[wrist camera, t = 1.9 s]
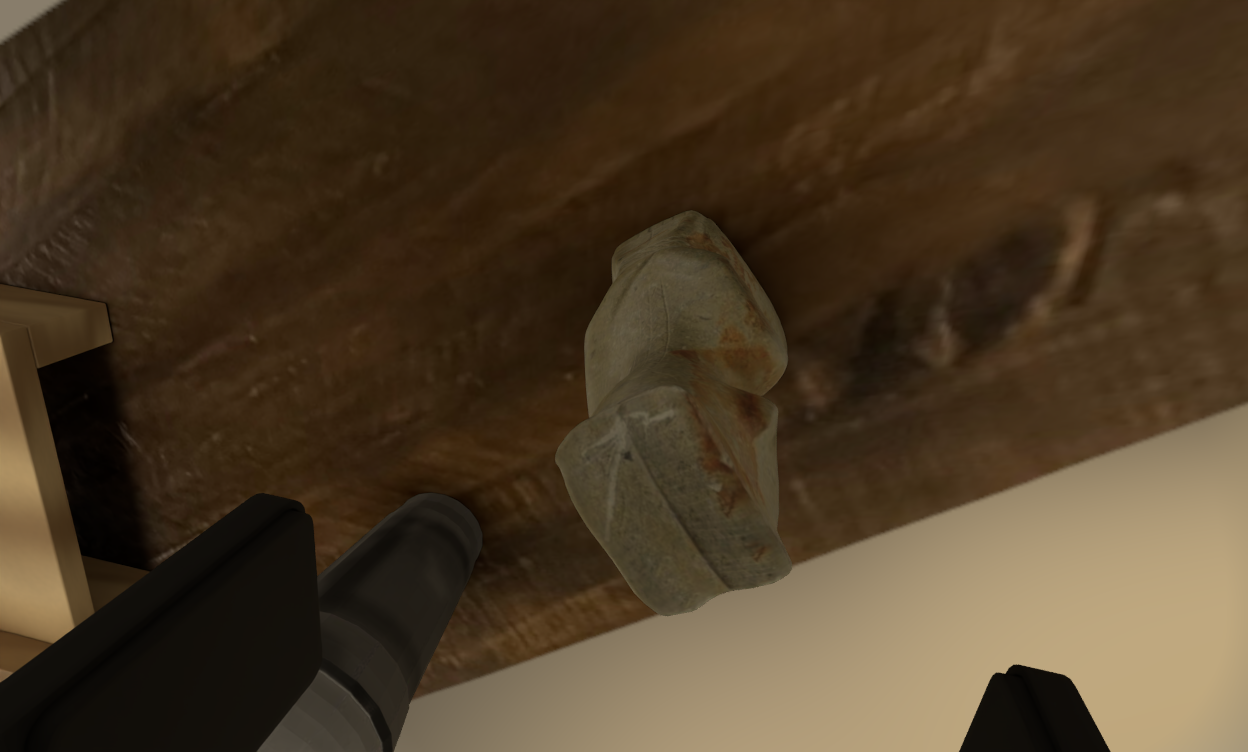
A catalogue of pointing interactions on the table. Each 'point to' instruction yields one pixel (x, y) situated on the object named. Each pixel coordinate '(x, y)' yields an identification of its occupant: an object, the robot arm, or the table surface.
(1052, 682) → the robot arm
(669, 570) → the sculpture
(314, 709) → the beverage cup
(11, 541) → the shelf
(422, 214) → the table surface
